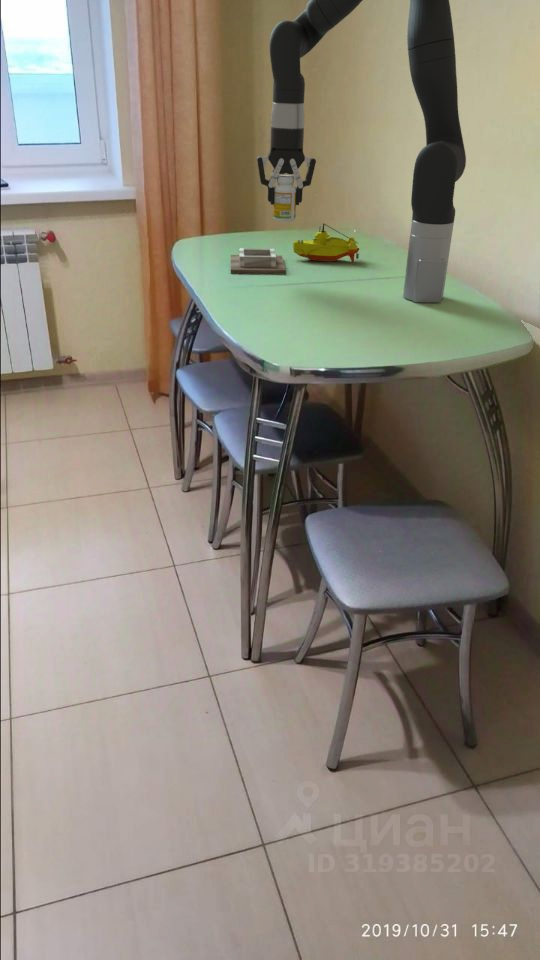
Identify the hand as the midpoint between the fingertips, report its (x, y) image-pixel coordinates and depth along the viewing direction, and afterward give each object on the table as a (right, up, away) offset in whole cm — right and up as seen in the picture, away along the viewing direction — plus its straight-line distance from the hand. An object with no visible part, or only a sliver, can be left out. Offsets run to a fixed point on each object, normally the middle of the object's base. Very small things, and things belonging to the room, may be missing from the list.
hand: (284, 204), depth 171 cm
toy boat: (+12, -6, +27) cm, 30 cm away
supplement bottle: (0, -3, +2) cm, 4 cm away
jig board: (-7, -9, +19) cm, 22 cm away
